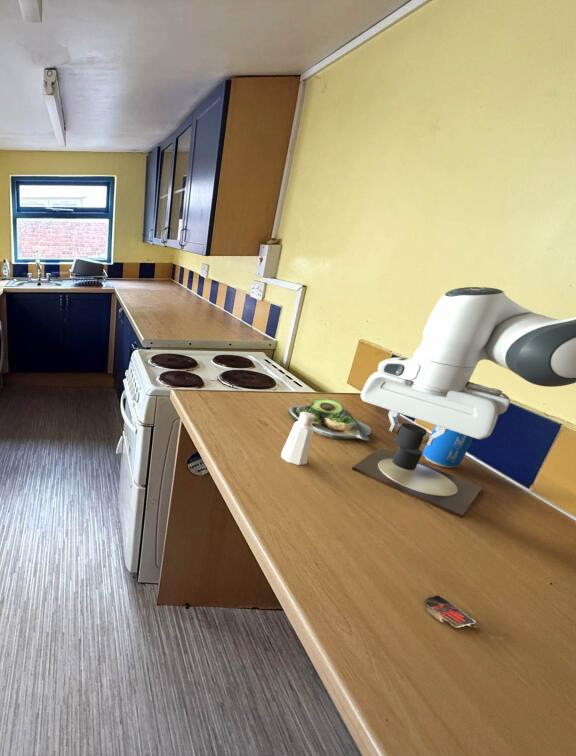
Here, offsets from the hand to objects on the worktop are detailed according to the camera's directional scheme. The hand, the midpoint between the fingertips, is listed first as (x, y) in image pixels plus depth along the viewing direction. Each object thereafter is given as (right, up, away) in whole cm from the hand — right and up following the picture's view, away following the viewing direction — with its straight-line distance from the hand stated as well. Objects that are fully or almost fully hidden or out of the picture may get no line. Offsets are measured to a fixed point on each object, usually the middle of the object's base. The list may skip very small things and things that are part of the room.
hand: (409, 437), depth 81 cm
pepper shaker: (-19, -6, +8) cm, 21 cm away
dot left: (+4, -7, +7) cm, 10 cm away
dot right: (0, -2, +1) cm, 2 cm away
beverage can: (+16, -7, +10) cm, 20 cm away
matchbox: (-19, -20, -27) cm, 39 cm away
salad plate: (0, 0, +25) cm, 25 cm away
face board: (+4, -9, +3) cm, 10 cm away
